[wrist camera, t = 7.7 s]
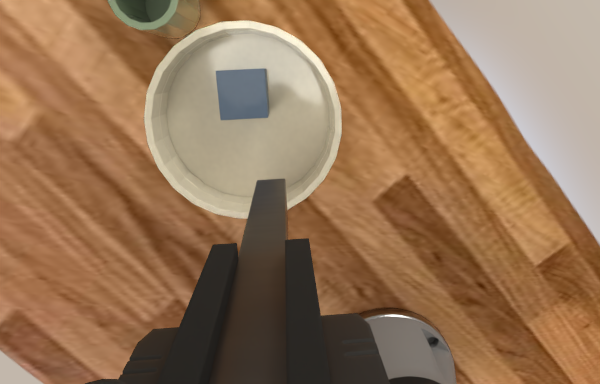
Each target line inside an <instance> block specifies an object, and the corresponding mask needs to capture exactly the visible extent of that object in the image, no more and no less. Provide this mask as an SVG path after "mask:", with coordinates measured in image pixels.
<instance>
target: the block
mask: <svg viewBox="0 0 600 384" xmlns="http://www.w3.org/2000/svg"><path fill="white" fill-rule="evenodd" d="M216 81H217V91H218V100H219V110H220V120H237V119H255V118H268V116H269V113H270V111H269V96H268V82H267V69H265V68H260V69H240V70H221V71H216Z"/></svg>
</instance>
